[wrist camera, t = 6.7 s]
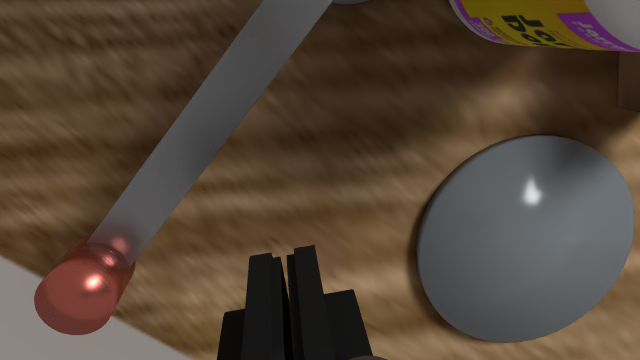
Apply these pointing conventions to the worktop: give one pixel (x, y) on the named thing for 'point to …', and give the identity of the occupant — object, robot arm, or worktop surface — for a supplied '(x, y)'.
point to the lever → (173, 168)
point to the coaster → (524, 238)
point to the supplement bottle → (555, 22)
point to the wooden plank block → (629, 81)
